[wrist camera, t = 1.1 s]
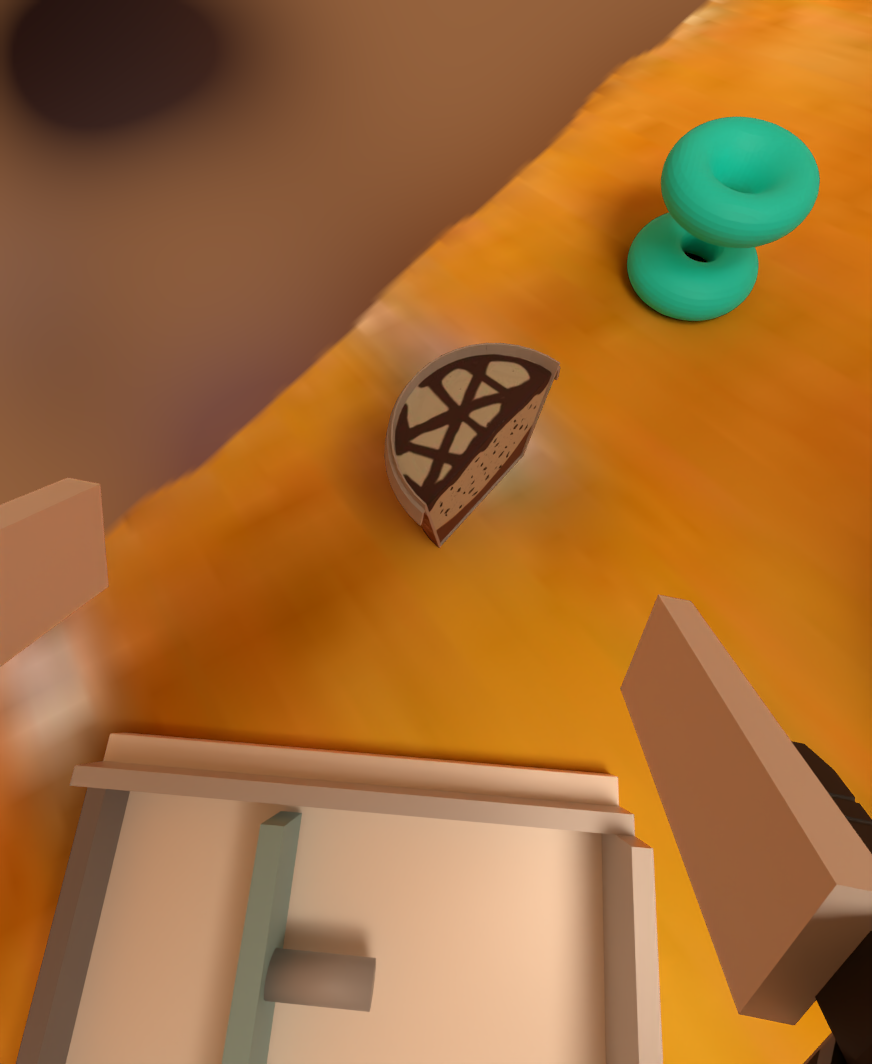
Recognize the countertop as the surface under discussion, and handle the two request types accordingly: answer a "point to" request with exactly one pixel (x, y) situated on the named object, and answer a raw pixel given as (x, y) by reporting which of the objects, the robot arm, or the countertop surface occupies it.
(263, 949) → the pusher paddle
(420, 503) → the food container
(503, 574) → the countertop surface
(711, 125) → the donuts
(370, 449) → the countertop surface
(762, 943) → the robot arm
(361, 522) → the countertop surface
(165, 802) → the pusher lane
